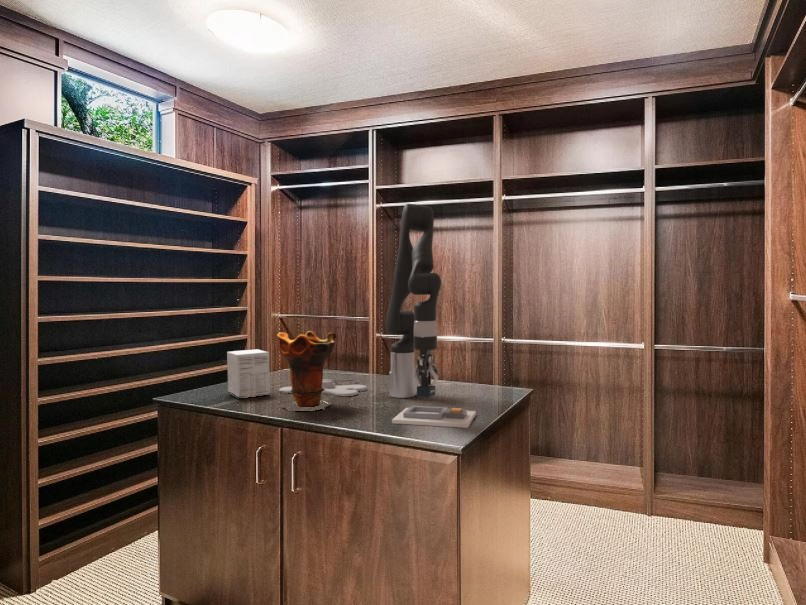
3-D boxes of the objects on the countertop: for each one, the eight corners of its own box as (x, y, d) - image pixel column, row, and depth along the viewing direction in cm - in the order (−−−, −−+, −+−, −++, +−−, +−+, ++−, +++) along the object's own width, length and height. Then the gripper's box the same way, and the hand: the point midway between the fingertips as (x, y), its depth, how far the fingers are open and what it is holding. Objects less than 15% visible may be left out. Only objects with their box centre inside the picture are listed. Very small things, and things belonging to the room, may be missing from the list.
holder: (352, 398, 217) (352, 386, 216) (274, 394, 227) (274, 382, 227) (370, 389, 235) (370, 377, 234) (297, 386, 245) (297, 374, 245)
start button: (450, 416, 178) (450, 410, 178) (452, 414, 181) (452, 407, 181) (460, 416, 178) (460, 410, 178) (461, 414, 180) (461, 408, 180)
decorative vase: (348, 399, 211) (345, 325, 208) (319, 417, 189) (315, 335, 187) (300, 396, 218) (296, 325, 215) (266, 413, 196) (261, 334, 194)
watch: (435, 397, 177) (435, 362, 178) (411, 395, 180) (412, 361, 181) (440, 395, 183) (441, 361, 183) (417, 394, 186) (418, 360, 186)
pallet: (392, 423, 176) (391, 414, 176) (406, 411, 193) (406, 403, 193) (467, 427, 170) (467, 418, 170) (475, 414, 186) (475, 406, 186)
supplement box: (270, 395, 223) (269, 351, 222) (237, 400, 215) (236, 354, 214) (259, 390, 234) (258, 348, 233) (227, 394, 226) (226, 351, 225)
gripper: (419, 332, 189) (419, 383, 190) (408, 336, 175) (409, 391, 176) (441, 332, 187) (441, 384, 188) (431, 336, 173) (432, 392, 174)
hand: (426, 387), depth 182 cm, fingers closed on watch, 3 cm apart
